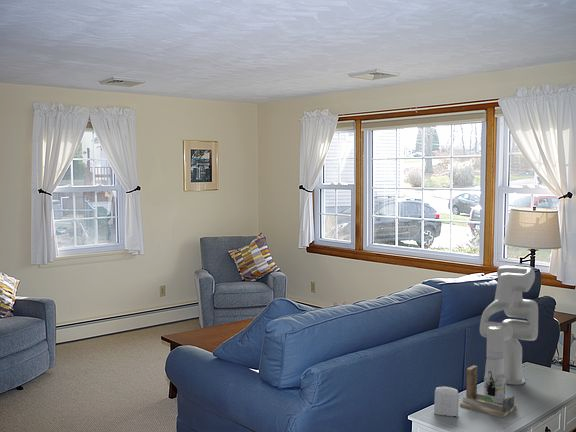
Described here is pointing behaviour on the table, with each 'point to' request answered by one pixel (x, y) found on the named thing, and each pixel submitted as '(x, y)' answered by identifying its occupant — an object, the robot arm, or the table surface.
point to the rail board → (489, 405)
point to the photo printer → (446, 401)
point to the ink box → (499, 391)
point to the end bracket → (471, 382)
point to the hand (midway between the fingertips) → (494, 393)
